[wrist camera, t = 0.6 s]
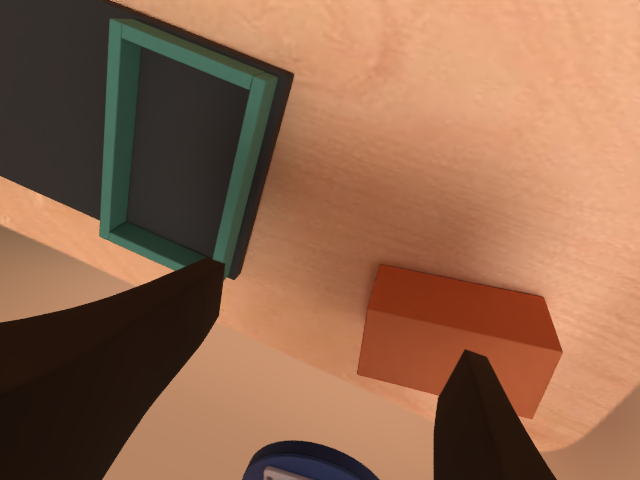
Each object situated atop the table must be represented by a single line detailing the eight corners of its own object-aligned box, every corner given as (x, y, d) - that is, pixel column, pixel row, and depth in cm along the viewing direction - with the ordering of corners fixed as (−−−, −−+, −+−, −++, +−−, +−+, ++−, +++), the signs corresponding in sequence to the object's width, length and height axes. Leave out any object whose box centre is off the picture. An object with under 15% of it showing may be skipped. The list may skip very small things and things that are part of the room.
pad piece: (519, 358, 22) (532, 420, 19) (370, 324, 24) (356, 375, 20) (544, 296, 20) (563, 352, 17) (379, 263, 22) (367, 308, 18)
